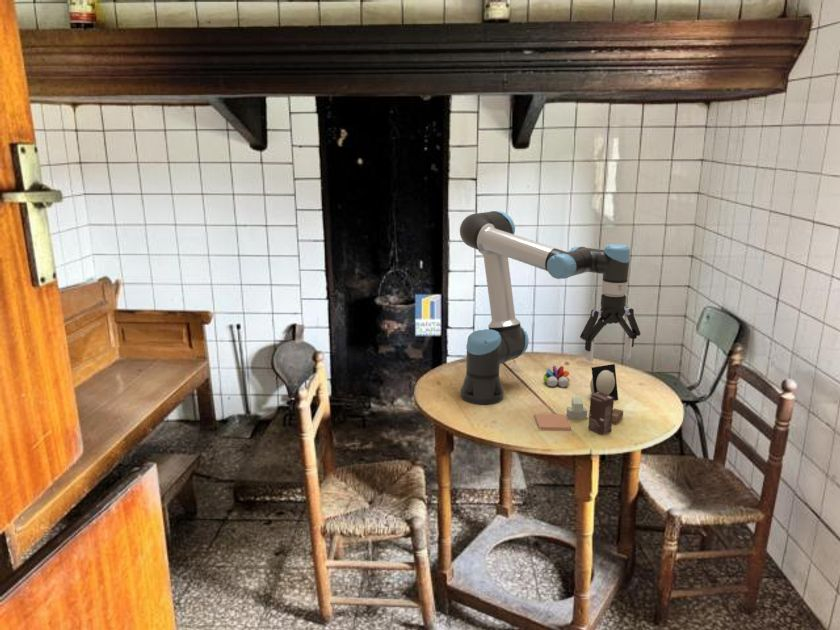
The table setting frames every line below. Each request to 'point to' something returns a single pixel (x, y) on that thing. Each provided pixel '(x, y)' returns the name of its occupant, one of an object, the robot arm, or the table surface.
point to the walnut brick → (617, 416)
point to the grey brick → (576, 414)
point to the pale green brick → (577, 404)
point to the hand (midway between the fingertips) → (608, 358)
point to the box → (601, 412)
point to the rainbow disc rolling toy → (557, 377)
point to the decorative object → (604, 380)
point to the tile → (552, 422)
